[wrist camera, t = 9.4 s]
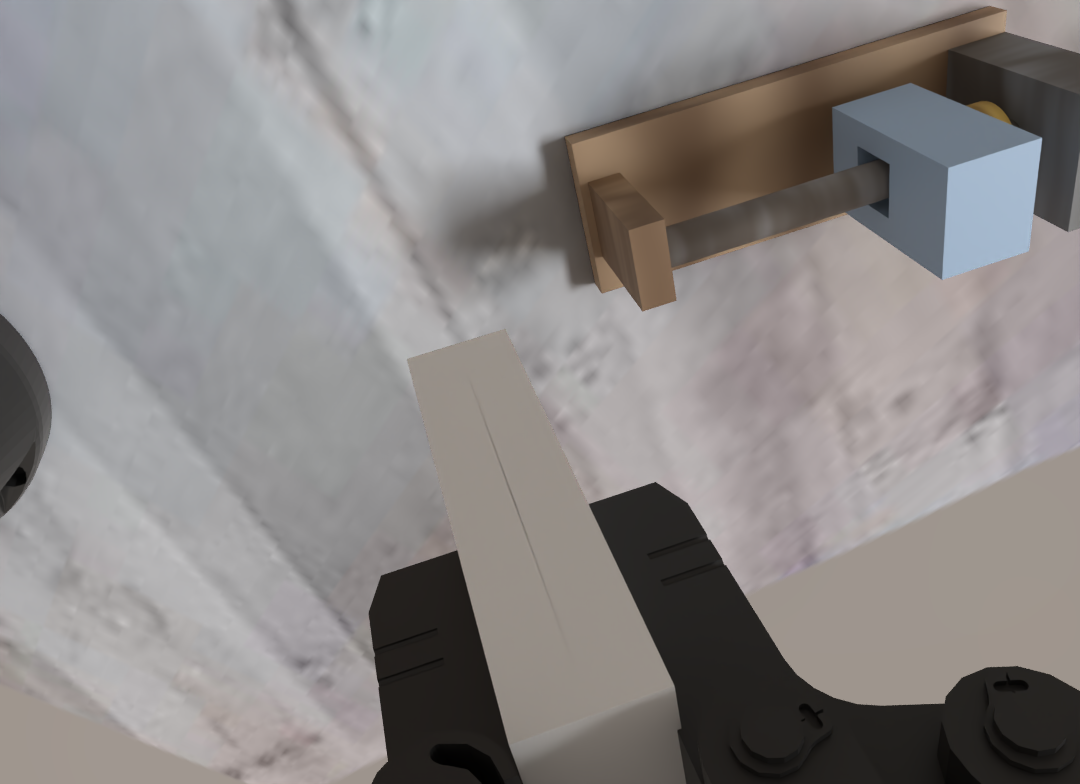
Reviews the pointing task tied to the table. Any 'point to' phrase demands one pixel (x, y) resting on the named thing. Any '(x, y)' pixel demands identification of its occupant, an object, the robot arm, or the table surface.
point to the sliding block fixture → (804, 149)
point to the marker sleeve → (941, 177)
